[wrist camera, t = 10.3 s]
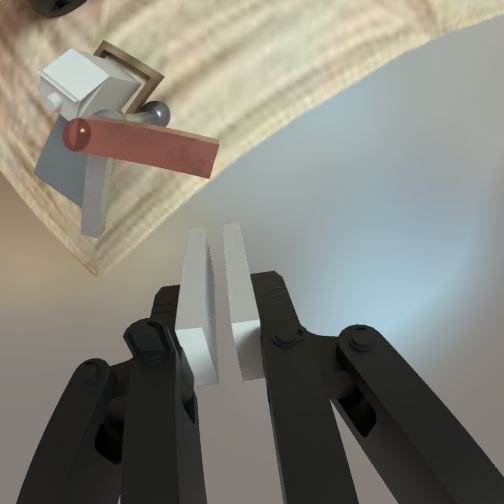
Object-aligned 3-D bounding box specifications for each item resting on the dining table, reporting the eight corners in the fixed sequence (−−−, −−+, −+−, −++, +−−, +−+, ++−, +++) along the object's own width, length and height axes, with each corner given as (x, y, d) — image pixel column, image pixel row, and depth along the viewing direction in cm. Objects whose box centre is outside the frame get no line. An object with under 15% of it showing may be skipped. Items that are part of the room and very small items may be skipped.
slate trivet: (35, 172, 40) (33, 173, 39) (63, 110, 36) (61, 110, 35) (84, 207, 45) (83, 208, 44) (117, 146, 41) (116, 147, 40)
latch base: (133, 121, 39) (131, 121, 39) (151, 95, 38) (150, 94, 37) (157, 138, 41) (156, 138, 41) (177, 112, 40) (176, 112, 39)
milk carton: (112, 61, 34) (55, 42, 17) (142, 84, 36) (96, 72, 20) (86, 95, 35) (20, 98, 19) (114, 118, 38) (57, 130, 22)
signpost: (197, 191, 46) (181, 290, 22) (130, 177, 43) (52, 259, 19) (217, 120, 41) (221, 138, 17) (146, 105, 38) (62, 110, 14)
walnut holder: (68, 104, 35) (61, 105, 33) (108, 42, 32) (103, 40, 29) (120, 139, 40) (115, 141, 38) (164, 76, 36) (161, 74, 34)
